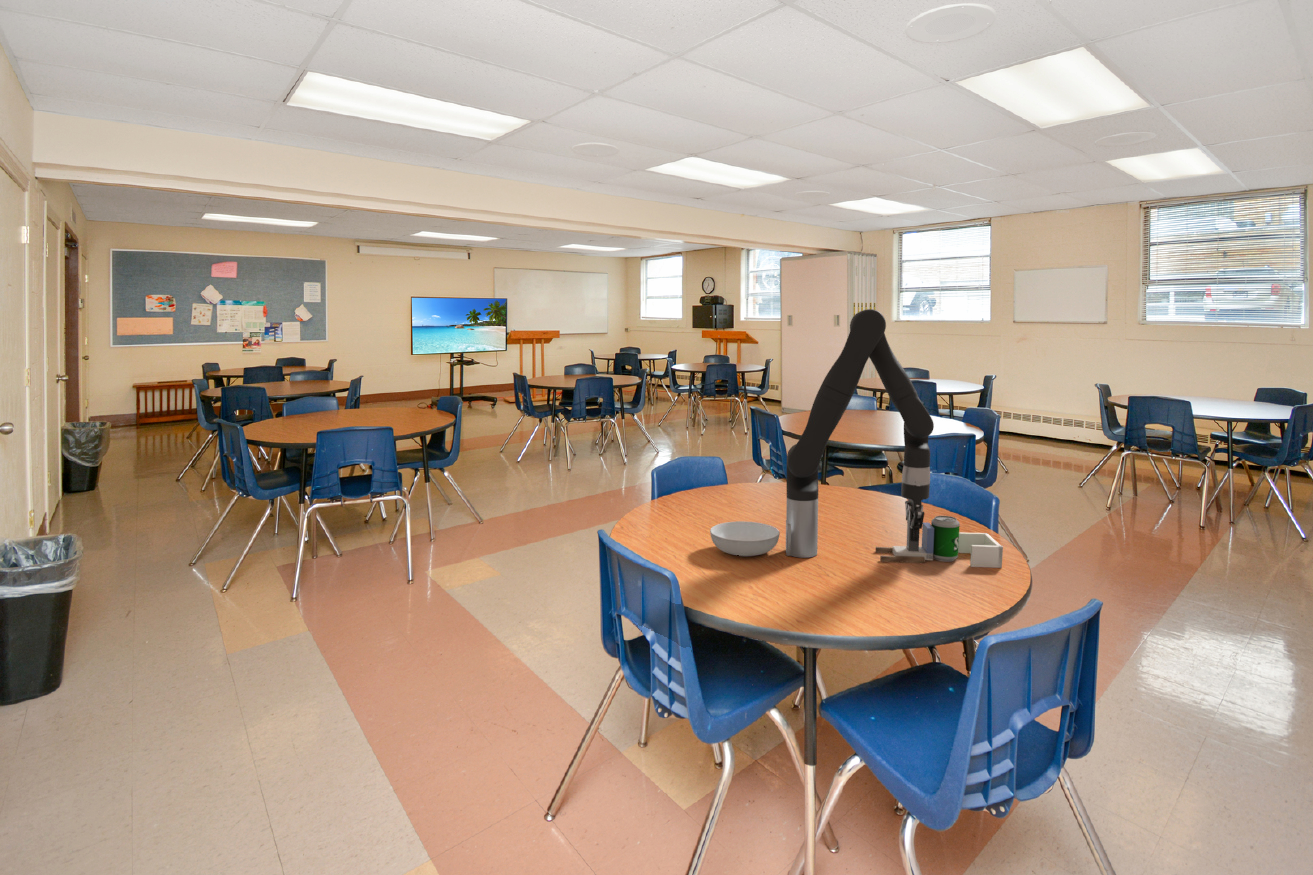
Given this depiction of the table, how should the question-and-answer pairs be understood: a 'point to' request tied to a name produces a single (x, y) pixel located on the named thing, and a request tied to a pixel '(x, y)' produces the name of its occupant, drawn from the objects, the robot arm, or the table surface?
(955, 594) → the table surface
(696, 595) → the table surface
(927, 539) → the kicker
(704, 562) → the table surface
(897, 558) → the track
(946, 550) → the soda can
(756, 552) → the serving bowl
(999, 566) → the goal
